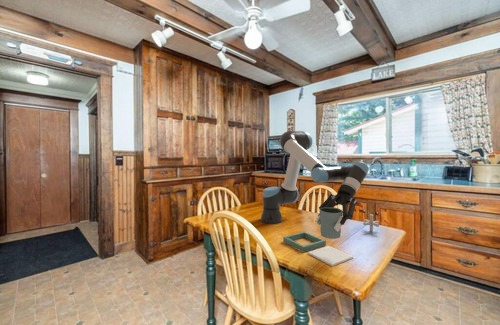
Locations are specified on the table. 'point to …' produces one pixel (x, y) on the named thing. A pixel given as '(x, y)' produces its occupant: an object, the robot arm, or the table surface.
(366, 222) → the pipe connector
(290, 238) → the square holder
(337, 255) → the ceramic tile
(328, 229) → the grey-green cup
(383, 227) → the table surface
